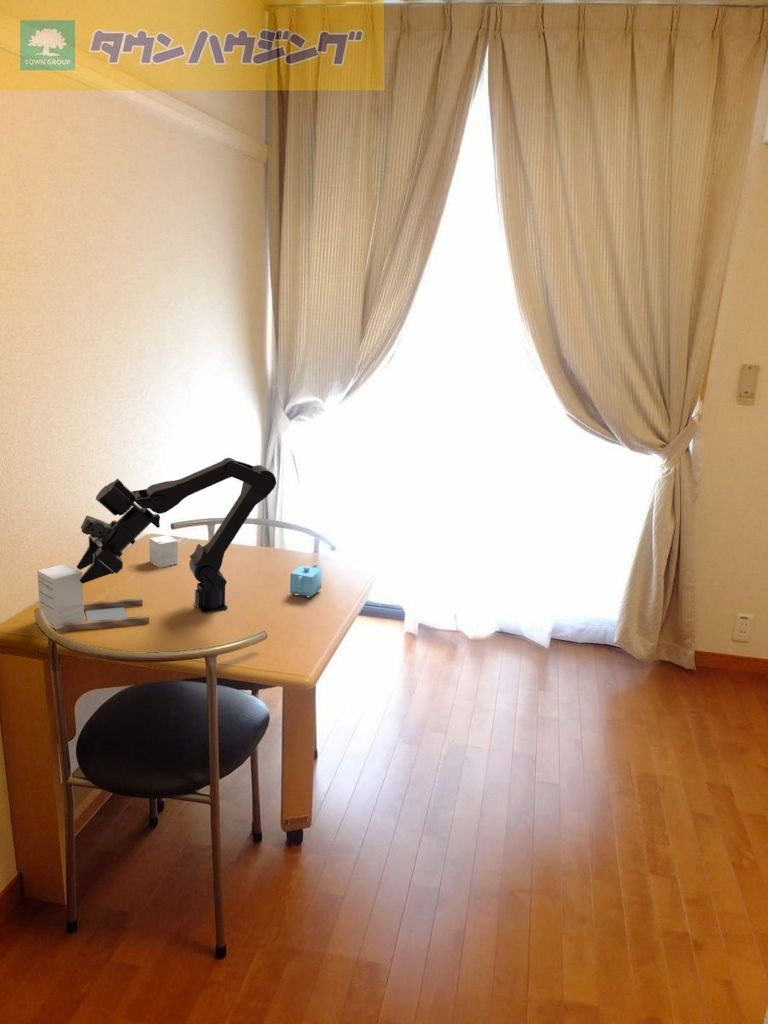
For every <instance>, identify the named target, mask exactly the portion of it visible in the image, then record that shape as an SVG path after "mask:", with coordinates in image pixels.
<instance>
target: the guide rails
mask: <svg viewBox="0 0 768 1024" xmlns="http://www.w3.org/2000/svg"><path fill="white" fill-rule="evenodd" d="M143 600H144V599H143V598H142V597H138V598H137V597H136V598H127V599H115V600H105V601H94V602H93V601H92V602H83V607H84V612H85V615H86V621H85V620H84V621H83V622H75V623H65V624H63V628H62V630H63V633H66V632H74V631H75V632H76V630H77V631H84V630H85V631H86V630H95V629H96V628H97V629H105V627H106V628H115V627H114V626H116V627H124V626H126V627H127V626H133V625H135V624H136V625H145V624H150V616H149V615H141V616H140V615H137V616H129V617H128V615H127V612H126V609H125V608H128V607H130V608H131V607H138V606H139V605H141V606H143V605H144V603H143ZM103 627H104V628H103ZM97 629H96V630H97Z"/></svg>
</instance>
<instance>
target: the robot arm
mask: <svg viewBox="0 0 768 1024" xmlns="http://www.w3.org/2000/svg"><path fill="white" fill-rule="evenodd" d="M229 478H234V479H236V480H239V481H241V482H242V486H241V489H240V490H241V491H240V494H239V496H238V498H237V499H236V500H235V502H234V504H233V506H231V508H230V510H229V511H228V512H227V515H226V516H225V517H224V519H223V521H222V522H221V523H220V525H219V527H218V528H217V530H216V531H215V533H214V535H213V536H212V538H211V539H210V540H209V541H208V542H207V543H206V544H205V545H204V546H202V544H200V543H198V544H197V545H196V548H195V550H194V551H193V553H192V554H190V556H189V558H190V561H189V562H188V563H189V569H190V571H191V573H192V574H193V576H194V578H195V580H196V581H198V582H197V583H196V589H195V590H194V604H193V605H195V607H197V608H198V609H199V610H200V612H202V613H210V612H211V613H212V612H218V611H223V610H227V609H229V608H228V605H226V585H227V579H226V578H225V577H224V575H223V573H222V572H221V571H220V570H221V567H222V565H223V560H224V555H225V553H226V551H227V550H228V548H229V546H231V544H232V542H233V541H234V539H235V537H236V536H237V534H238V533H239V531H240V529H241V528H242V526H243V525H244V524H245V522H246V520H247V518H248V517H249V516H250V514H251V513H252V511H253V510H254V508H255V507H256V505H258V504H259V503H260V502H262V501H263V500H265V499H266V498H267V497H268V496H269V494H271V492H273V490H274V489H275V488H276V484H277V477H276V476H275V474H274V473H273V472H271V471H270V469H268V468H267V467H266V466H264V465H260V464H257V465H252V464H248V463H245V462H243V461H238V460H236V459H234V458H232V457H225V458H224V459H223V460H221V461H219V462H216V463H214V464H212V465H210V466H207V467H204V468H202V469H200V470H198V471H195V472H194V473H191V474H189V475H186V476H184V477H181V478H179V479H175V480H167V481H166V480H165V481H163V482H158V483H155V484H154V483H153V484H151V485H149V486H148V487H147V488H144V489H139V490H132V491H131V490H130V489H129V488H128V487H127V486H125V485H124V483H123V481H121V480H120V479H119V478H116V479H115V480H114V481H111V482H110V483H108V484H107V485H104V486H103V487H102V488H101V489H100V491H99V492H98V493H97V495H96V497H95V500H96V501H97V502H98V503H99V504H100V505H102V506H103V507H104V508H105V509H106V510H108V512H110V513H111V514H112V515H114V516H117V515H118V516H121V517H120V518H119V519H118V520H111V522H109V523H108V522H105V521H103V520H101V519H98V518H96V517H93V516H90V515H85V517H84V519H83V522H82V524H81V526H80V529H81V532H82V533H83V534H85V535H87V537H88V548H87V549H86V551H85V552H84V554H83V555H82V558H80V560H79V562H78V564H77V565H76V569H77V570H79V571H81V570H83V569H84V568H87V567H88V568H87V569H86V570H85V572H84V574H82V577H81V579H80V582H81V583H83V584H86V583H89V582H91V581H94V580H96V579H99V578H102V577H106V576H108V575H113V574H118V573H120V571H122V569H123V567H124V563H123V560H122V555H123V554H124V553H123V551H124V550H125V549H126V548H127V547H128V546H129V545H130V544H131V545H132V546H133V545H134V544H135V543H136V538H137V537H138V536H140V534H142V532H144V531H145V530H146V528H147V527H149V525H151V524H152V525H154V526H155V527H156V528H157V529H159V528H160V527H161V525H160V521H161V516H160V514H165V513H167V512H168V511H171V509H173V508H175V507H177V506H178V505H179V504H180V503H181V502H182V501H183V500H185V498H187V497H189V496H191V495H194V494H196V493H198V492H200V491H203V490H205V489H207V488H209V487H211V486H213V485H216V484H218V483H221V482H223V481H225V480H227V479H229ZM152 512H153V513H152ZM88 535H89V536H88Z"/></svg>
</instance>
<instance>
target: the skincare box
mask: <svg viewBox="0 0 768 1024" xmlns="http://www.w3.org/2000/svg"><path fill="white" fill-rule="evenodd" d="M148 546H149V547H148V549H149V553H148V554H149V559H148V560H149V563H150V562H151V563H150V564H152V563H153V564H152V565H154V564H155V565H156V566H155V565H154V566H155V567H157V568H158V567H159V569H162V568H166V567H170V565H171V566H175V565H174V564H176V565H179V540H177V539H175V538H174V537H172V536H170V535H169V534H167V535H161V536H155V537H150V538H149V539H148ZM161 567H162V568H161Z"/></svg>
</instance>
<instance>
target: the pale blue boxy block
mask: <svg viewBox="0 0 768 1024" xmlns="http://www.w3.org/2000/svg"><path fill="white" fill-rule="evenodd" d="M317 566H318V562H315V563H313V564H312V566H307V565H302V564H301V565H300V566H299V567H298V568H296V569H295V570H293V571H292V572H291V573H290V578H289V579H290V582H289V593H290V594H293V595H294V594H299V595H298V596H305V597H306V596H309V597H311V596H312V597H313V596H314V595H315V594H317V593H318V591H320V590H321V589H322V583H323V582H322V581H323V569H322V568H318V567H317ZM316 592H317V593H316Z"/></svg>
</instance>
